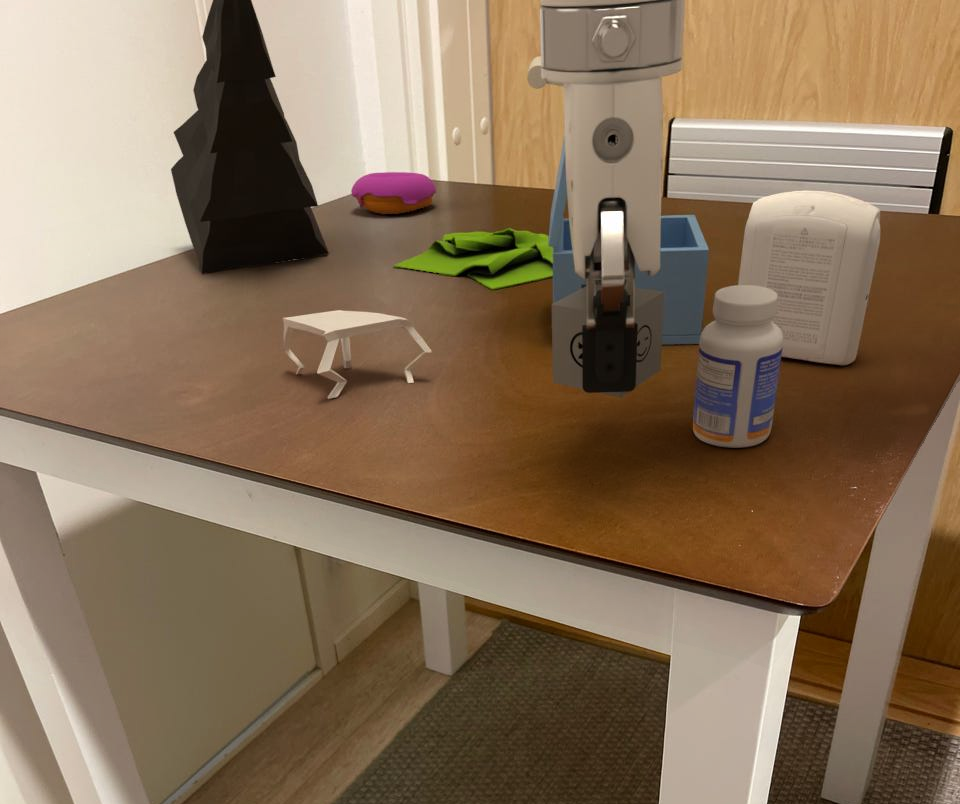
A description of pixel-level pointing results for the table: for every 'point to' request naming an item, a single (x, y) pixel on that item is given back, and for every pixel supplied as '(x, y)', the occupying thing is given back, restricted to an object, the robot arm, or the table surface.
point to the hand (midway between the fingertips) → (607, 364)
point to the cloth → (489, 257)
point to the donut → (393, 192)
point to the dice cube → (574, 315)
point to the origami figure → (346, 337)
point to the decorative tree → (242, 155)
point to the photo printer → (814, 269)
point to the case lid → (561, 185)
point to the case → (656, 276)
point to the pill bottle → (738, 368)
